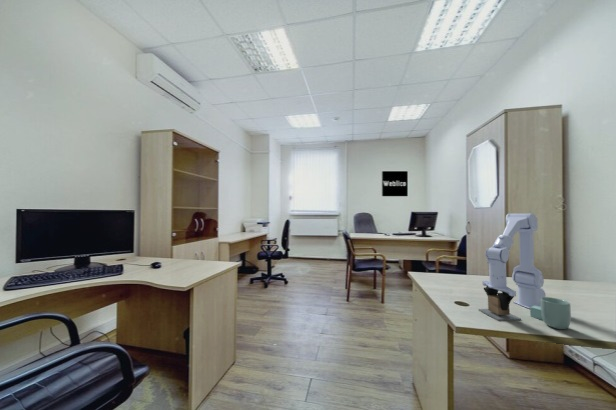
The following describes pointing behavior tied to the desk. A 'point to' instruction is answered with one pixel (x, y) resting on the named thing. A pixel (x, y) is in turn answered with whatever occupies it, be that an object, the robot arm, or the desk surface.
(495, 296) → the walnut block
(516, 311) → the desk surface
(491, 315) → the slate coaster
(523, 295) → the robot arm
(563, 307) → the cup
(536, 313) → the teal block
